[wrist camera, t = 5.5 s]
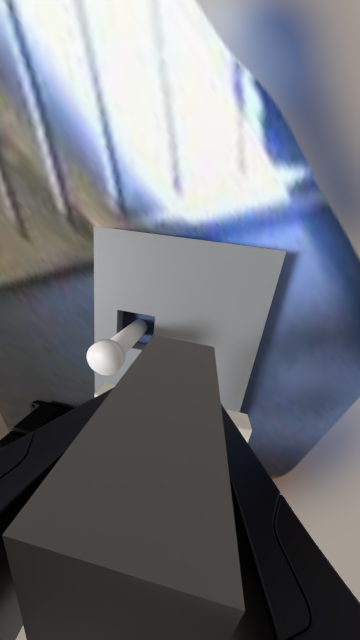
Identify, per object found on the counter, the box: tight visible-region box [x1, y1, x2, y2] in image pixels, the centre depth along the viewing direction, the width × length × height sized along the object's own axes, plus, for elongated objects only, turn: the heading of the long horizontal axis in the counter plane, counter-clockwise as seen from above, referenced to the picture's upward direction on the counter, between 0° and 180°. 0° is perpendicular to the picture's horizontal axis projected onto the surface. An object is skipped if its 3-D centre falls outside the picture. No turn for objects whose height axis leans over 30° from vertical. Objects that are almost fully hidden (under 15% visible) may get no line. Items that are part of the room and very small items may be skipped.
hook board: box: [87, 226, 286, 412], centre depth 16 cm, size 19×17×8 cm
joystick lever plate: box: [2, 335, 252, 640], centre depth 7 cm, size 11×8×7 cm
